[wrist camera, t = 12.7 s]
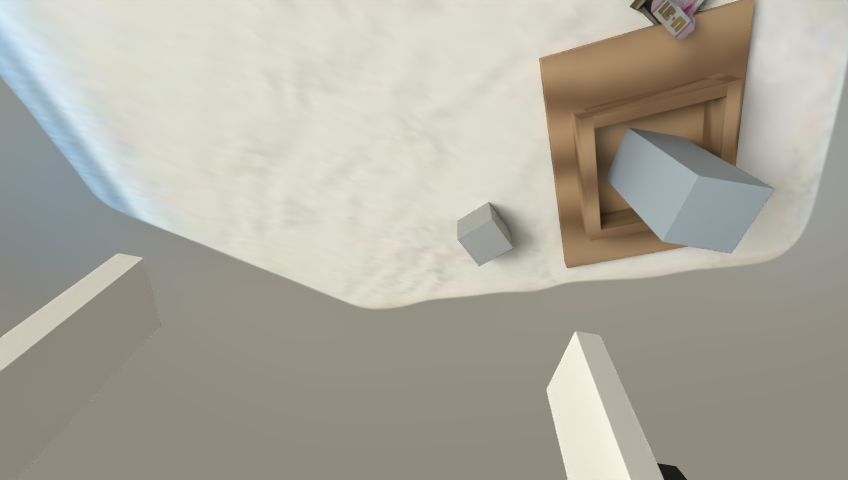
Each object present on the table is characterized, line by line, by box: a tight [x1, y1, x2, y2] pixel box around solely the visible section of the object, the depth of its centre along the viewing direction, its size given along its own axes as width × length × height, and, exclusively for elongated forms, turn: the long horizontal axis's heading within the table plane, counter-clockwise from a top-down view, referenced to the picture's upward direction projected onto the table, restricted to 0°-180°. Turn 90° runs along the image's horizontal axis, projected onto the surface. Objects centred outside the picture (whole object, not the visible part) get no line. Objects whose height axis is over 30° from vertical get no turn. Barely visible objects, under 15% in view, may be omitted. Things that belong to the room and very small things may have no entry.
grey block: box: [457, 202, 513, 266], centre depth 41 cm, size 4×4×4 cm
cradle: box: [539, 0, 754, 268], centre depth 36 cm, size 22×16×4 cm
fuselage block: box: [606, 127, 774, 253], centre depth 31 cm, size 5×5×12 cm
